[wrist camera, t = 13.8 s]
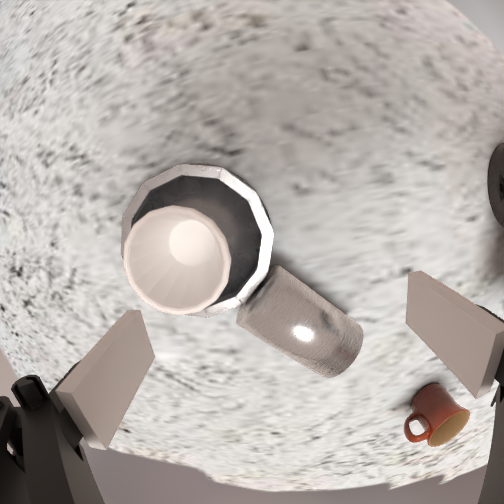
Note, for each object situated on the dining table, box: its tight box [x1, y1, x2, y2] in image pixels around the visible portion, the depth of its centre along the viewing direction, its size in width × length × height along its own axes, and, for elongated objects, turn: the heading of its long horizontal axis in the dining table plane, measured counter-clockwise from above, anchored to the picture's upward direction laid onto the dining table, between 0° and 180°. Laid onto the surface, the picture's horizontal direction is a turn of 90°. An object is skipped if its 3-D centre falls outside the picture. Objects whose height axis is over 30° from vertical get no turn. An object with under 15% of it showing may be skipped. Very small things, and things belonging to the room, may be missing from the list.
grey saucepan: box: [121, 164, 363, 378], centre depth 32 cm, size 31×18×8 cm, turn 53°
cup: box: [123, 205, 231, 315], centre depth 29 cm, size 10×10×9 cm
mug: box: [404, 383, 470, 447], centre depth 37 cm, size 12×9×10 cm
